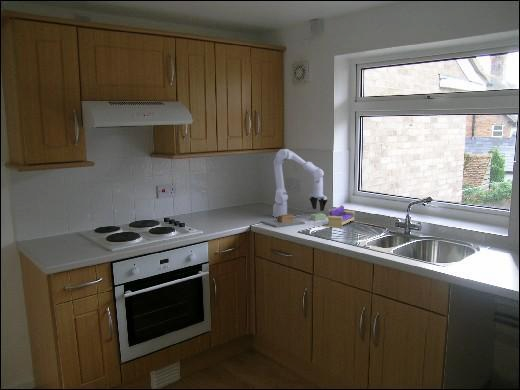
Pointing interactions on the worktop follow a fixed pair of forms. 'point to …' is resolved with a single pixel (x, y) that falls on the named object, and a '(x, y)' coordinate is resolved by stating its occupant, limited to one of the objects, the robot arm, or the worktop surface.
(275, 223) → the baseplate
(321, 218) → the sage block
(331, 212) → the toy sofa
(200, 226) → the worktop surface
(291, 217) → the walnut block
